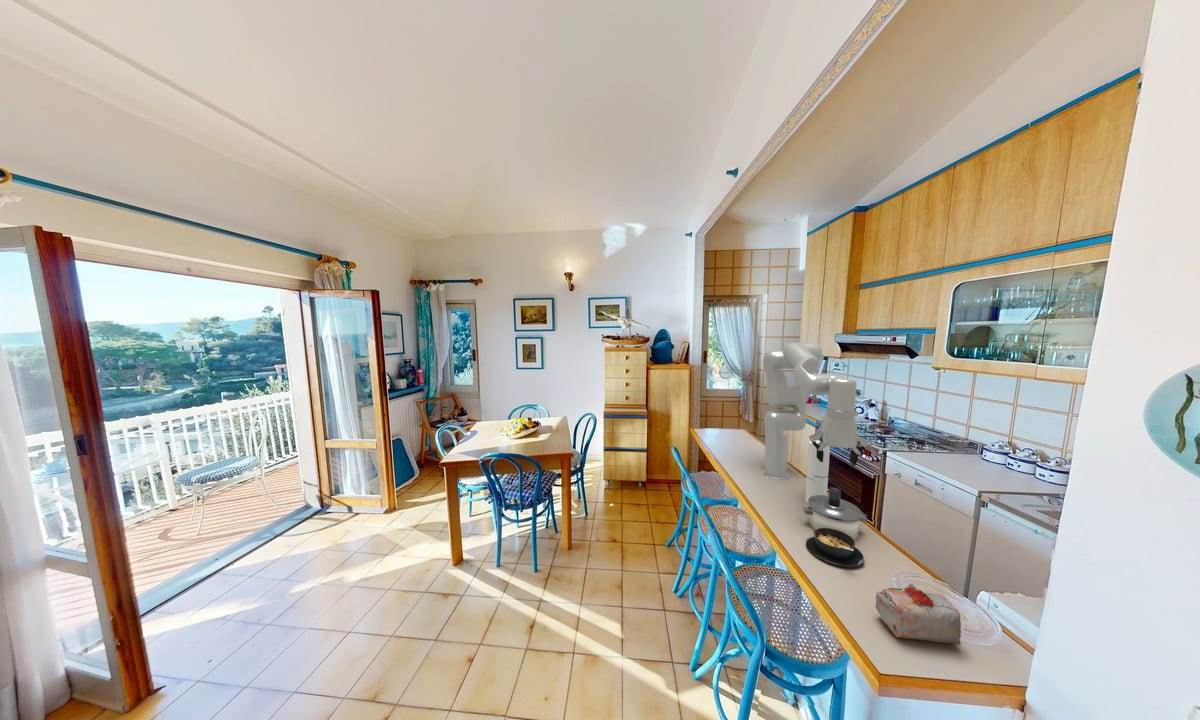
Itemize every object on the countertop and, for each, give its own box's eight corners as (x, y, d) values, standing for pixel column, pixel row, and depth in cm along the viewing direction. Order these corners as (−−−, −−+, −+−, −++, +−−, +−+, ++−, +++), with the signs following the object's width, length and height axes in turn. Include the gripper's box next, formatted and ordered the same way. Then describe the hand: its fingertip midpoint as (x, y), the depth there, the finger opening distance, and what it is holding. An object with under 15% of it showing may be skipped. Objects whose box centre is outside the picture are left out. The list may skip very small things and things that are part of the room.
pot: (797, 514, 125) (798, 496, 125) (854, 522, 120) (856, 503, 120) (809, 536, 112) (810, 516, 111) (874, 546, 107) (875, 525, 106)
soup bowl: (860, 548, 106) (861, 526, 106) (868, 580, 93) (869, 555, 92) (805, 533, 114) (806, 513, 113) (805, 561, 101) (806, 537, 100)
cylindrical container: (825, 510, 128) (829, 447, 126) (804, 504, 133) (807, 443, 130) (826, 502, 134) (830, 442, 132) (806, 497, 138) (809, 439, 136)
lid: (802, 495, 125) (803, 477, 124) (849, 501, 121) (851, 482, 120) (816, 517, 111) (817, 496, 110) (870, 525, 106) (871, 503, 106)
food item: (894, 642, 74) (898, 601, 73) (871, 612, 82) (874, 575, 81) (964, 651, 72) (969, 609, 71) (933, 619, 80) (937, 581, 79)
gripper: (864, 413, 114) (860, 460, 116) (807, 409, 119) (804, 455, 120) (876, 419, 107) (871, 469, 108) (814, 414, 111) (811, 463, 113)
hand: (836, 462), depth 114 cm, fingers open, 9 cm apart
